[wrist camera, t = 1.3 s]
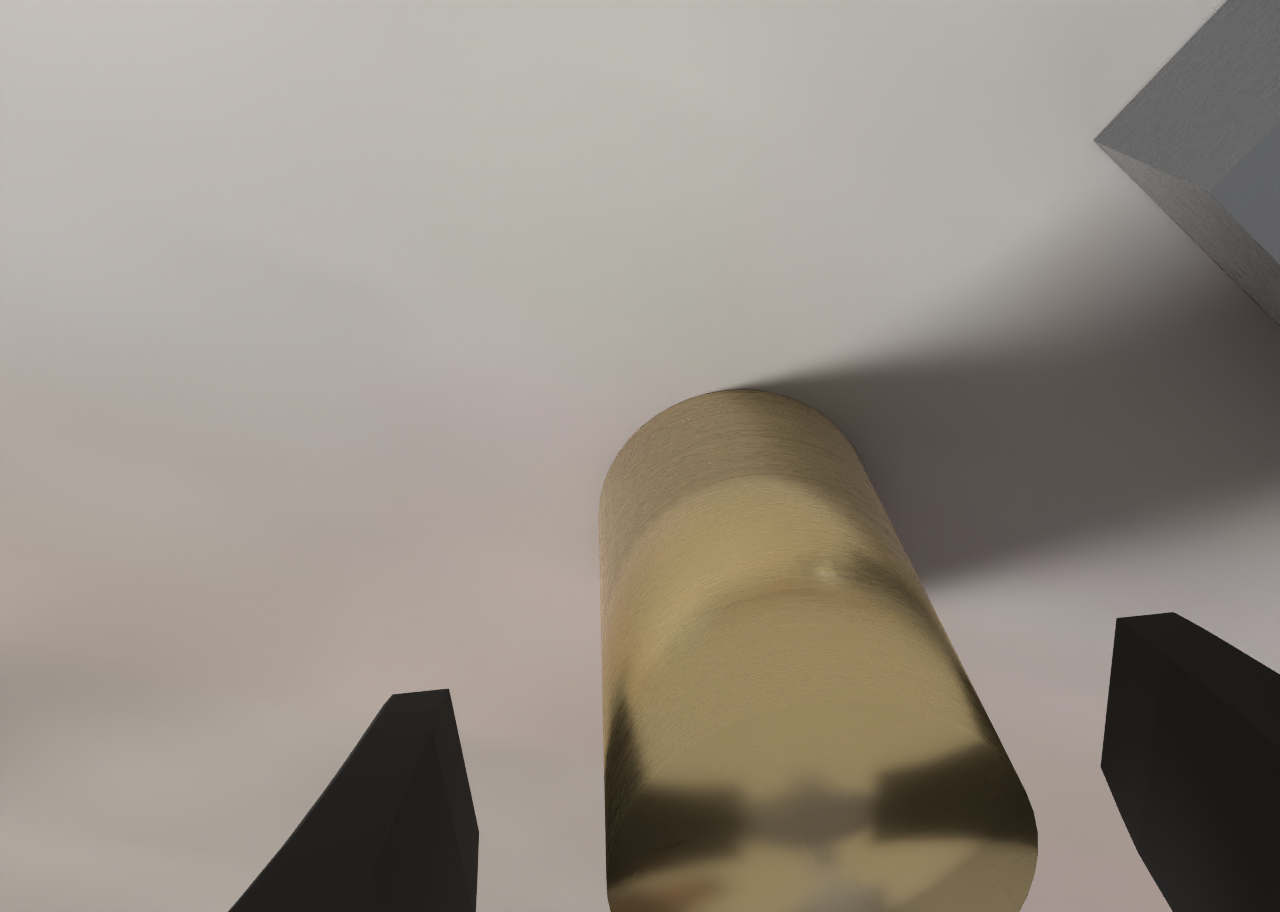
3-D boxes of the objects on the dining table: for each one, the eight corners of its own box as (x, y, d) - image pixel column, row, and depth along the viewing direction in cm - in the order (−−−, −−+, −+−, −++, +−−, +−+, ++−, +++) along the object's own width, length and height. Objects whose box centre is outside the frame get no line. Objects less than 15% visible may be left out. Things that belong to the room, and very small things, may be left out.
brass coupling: (924, 495, 17) (1127, 845, 10) (744, 670, 18) (829, 1078, 12) (721, 335, 16) (813, 621, 9) (543, 535, 17) (519, 907, 11)
